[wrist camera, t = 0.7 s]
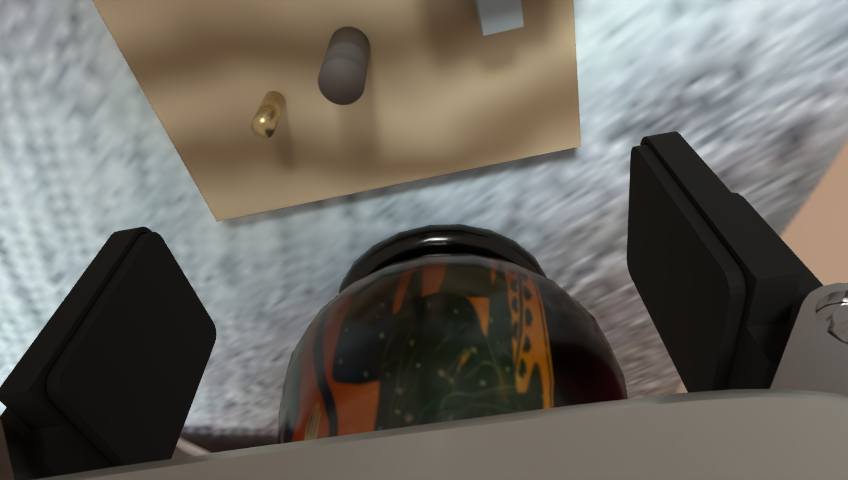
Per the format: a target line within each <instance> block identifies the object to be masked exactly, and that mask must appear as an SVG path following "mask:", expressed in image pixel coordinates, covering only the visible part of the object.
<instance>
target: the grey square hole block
mask: <svg viewBox="0 0 848 480" xmlns="http://www.w3.org/2000/svg"><path fill="white" fill-rule="evenodd" d="M475 4H476V11H477V17H478V22H479V25H480V28H481V30H482V33H483V36H485V35H489V34H494V33H498V32H502V31H507V30H511V29H515V28H519V27H524V23H523V14H522V5H521V0H475Z"/></svg>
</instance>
